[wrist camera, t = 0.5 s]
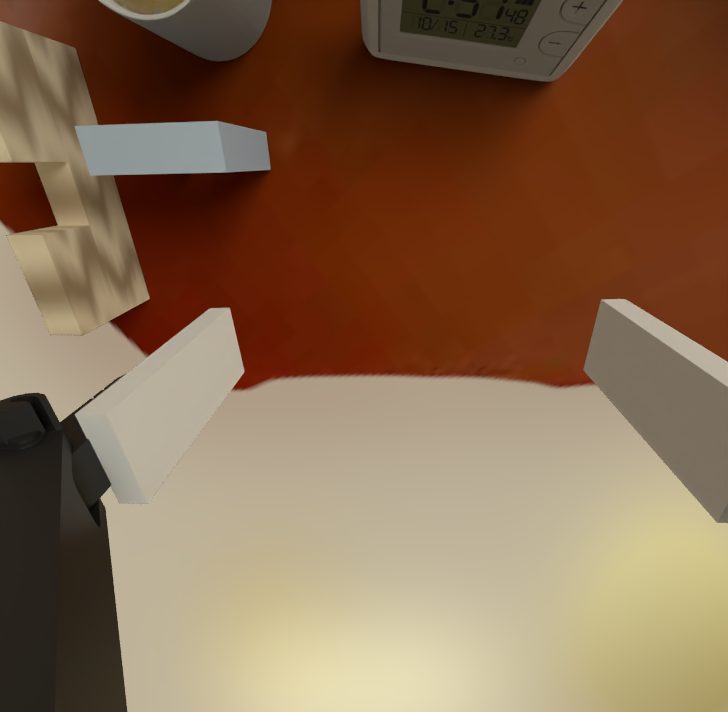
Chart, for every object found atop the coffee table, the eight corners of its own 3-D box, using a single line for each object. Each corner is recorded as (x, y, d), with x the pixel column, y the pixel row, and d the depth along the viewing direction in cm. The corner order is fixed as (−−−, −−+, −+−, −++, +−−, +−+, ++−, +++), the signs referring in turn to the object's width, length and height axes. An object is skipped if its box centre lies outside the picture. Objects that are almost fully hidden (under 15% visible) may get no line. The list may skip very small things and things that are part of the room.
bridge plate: (158, 135, 34) (74, 126, 25) (266, 132, 33) (217, 121, 24) (167, 172, 35) (90, 175, 26) (270, 169, 34) (226, 172, 26)
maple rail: (42, 49, 32) (-96, 6, 23) (75, 47, 31) (-52, 3, 23) (124, 298, 42) (50, 335, 33) (149, 298, 42) (82, 335, 33)
